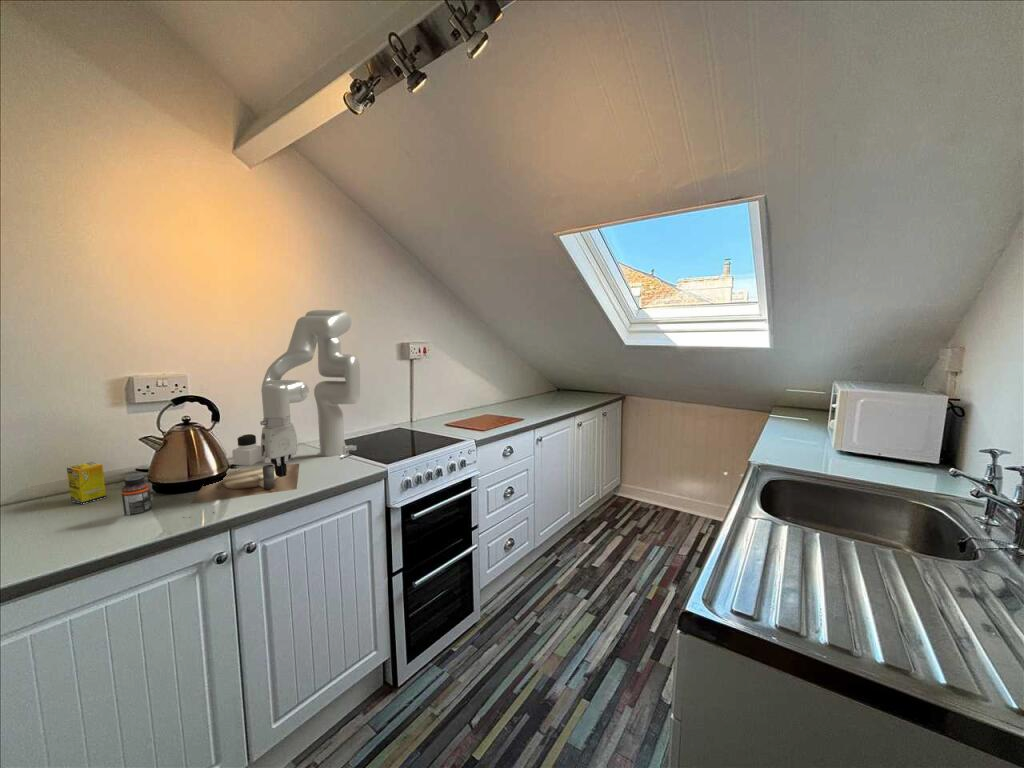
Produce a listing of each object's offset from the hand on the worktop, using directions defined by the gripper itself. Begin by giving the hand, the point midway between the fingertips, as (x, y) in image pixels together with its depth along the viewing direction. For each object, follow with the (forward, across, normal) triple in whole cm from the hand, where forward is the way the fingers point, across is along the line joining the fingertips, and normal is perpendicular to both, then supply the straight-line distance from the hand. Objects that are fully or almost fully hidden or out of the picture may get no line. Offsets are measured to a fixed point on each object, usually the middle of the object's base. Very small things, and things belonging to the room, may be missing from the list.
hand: (281, 475), depth 139 cm
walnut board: (+5, -3, +12) cm, 13 cm away
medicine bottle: (+5, +8, +34) cm, 35 cm away
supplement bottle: (+5, -32, +16) cm, 36 cm away
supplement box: (+5, -35, +42) cm, 55 cm away
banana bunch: (+3, -3, +9) cm, 10 cm away
